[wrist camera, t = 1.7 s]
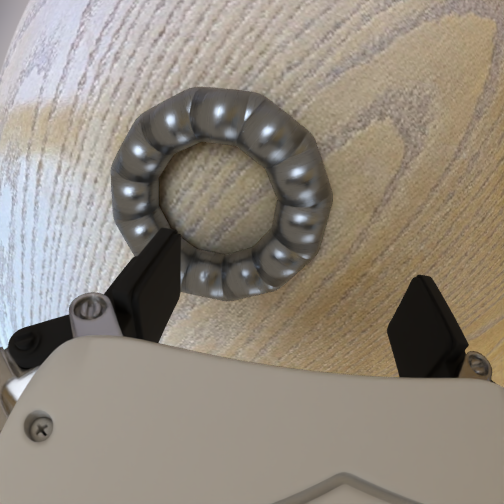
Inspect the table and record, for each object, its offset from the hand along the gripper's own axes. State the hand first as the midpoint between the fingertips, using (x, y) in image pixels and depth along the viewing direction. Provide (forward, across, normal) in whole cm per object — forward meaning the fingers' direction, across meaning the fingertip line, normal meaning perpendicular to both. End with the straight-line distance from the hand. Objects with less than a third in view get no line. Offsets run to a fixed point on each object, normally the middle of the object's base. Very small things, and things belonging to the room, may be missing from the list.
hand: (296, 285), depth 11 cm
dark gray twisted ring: (+5, +4, 0) cm, 7 cm away
